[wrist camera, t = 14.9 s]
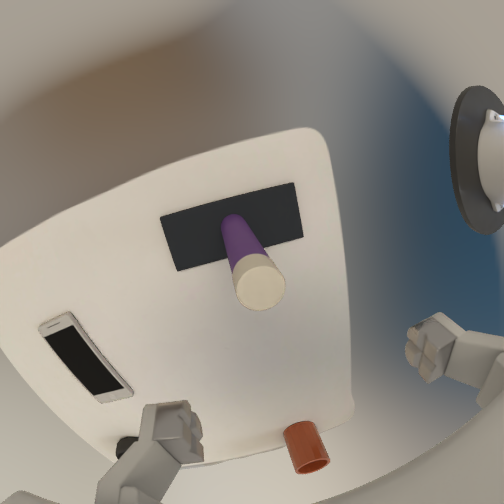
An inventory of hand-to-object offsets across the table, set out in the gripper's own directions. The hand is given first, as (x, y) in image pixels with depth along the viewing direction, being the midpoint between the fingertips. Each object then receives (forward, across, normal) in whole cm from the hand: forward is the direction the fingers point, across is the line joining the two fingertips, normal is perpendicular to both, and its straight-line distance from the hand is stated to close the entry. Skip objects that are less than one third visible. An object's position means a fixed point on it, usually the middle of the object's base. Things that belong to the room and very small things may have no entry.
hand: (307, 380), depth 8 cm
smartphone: (+21, +26, +12) cm, 35 cm away
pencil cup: (+22, -2, +40) cm, 46 cm away
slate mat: (+21, 0, 0) cm, 21 cm away
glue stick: (+21, 0, 0) cm, 21 cm away
